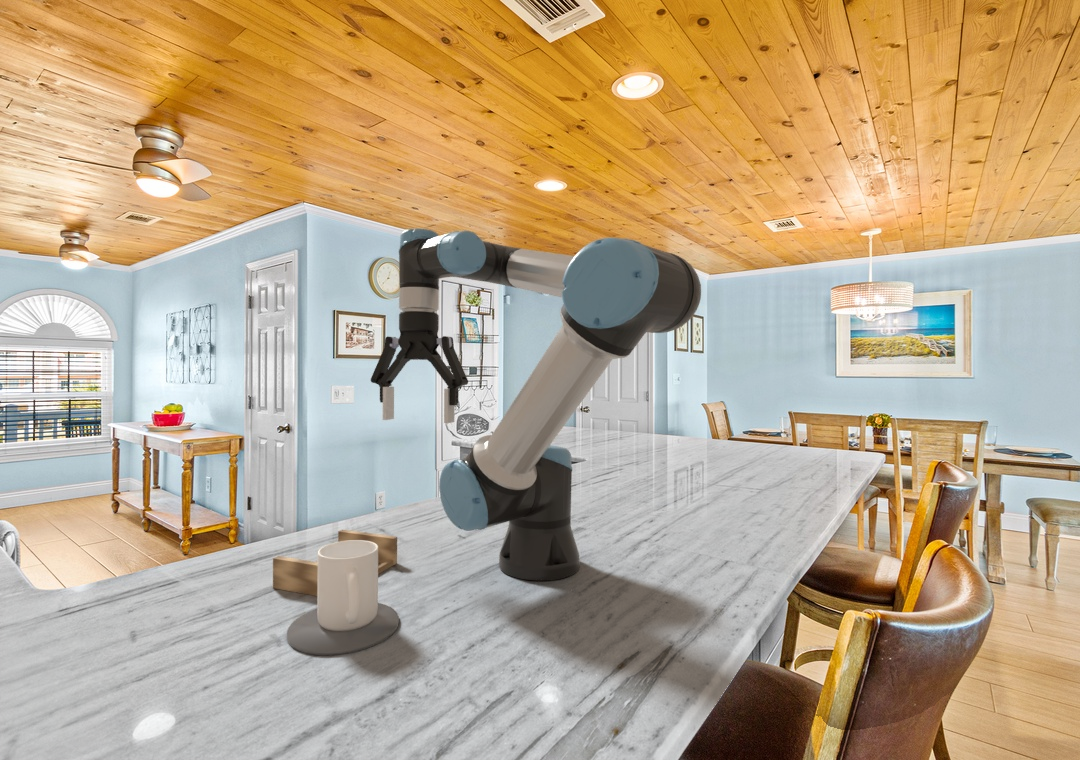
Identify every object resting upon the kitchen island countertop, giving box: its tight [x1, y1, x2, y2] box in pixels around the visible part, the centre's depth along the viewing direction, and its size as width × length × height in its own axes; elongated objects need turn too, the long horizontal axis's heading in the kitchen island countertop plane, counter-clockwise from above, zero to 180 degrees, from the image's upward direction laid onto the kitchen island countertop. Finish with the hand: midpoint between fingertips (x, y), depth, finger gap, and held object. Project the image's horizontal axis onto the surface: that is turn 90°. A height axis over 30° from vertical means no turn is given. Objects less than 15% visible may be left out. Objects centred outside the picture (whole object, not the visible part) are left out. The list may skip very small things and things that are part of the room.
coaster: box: [286, 602, 400, 656], centre depth 79 cm, size 15×15×1 cm
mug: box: [316, 540, 379, 631], centre depth 78 cm, size 12×8×10 cm
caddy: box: [272, 529, 398, 597], centre depth 98 cm, size 13×17×5 cm
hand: (418, 421), depth 107 cm, fingers open, 13 cm apart
